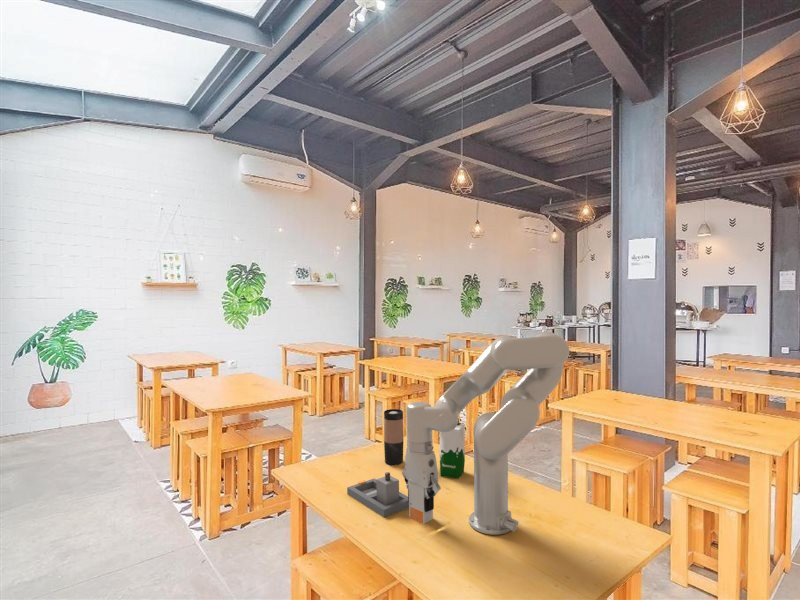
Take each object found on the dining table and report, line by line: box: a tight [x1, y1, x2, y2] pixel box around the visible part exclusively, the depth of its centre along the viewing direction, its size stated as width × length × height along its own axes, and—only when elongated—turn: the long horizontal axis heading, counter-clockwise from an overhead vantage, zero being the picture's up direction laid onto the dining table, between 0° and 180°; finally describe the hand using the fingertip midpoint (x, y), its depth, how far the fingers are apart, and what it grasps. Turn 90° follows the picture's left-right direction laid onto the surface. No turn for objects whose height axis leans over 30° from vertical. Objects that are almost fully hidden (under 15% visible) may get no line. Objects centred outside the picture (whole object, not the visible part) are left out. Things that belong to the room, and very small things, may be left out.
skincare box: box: [408, 479, 434, 525], centre depth 132 cm, size 6×4×12 cm
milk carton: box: [438, 417, 466, 480], centre depth 165 cm, size 9×9×20 cm
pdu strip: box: [346, 478, 409, 518], centre depth 144 cm, size 20×11×3 cm, turn 39°
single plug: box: [375, 472, 400, 506], centre depth 140 cm, size 5×5×10 cm
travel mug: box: [383, 408, 404, 466], centre depth 177 cm, size 8×8×20 cm
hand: (420, 505), depth 132 cm, fingers closed on skincare box, 6 cm apart
